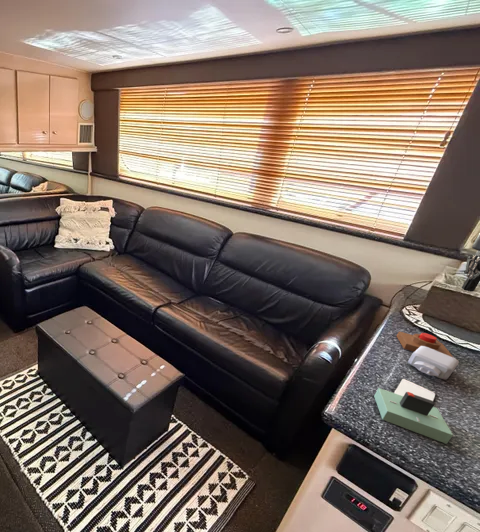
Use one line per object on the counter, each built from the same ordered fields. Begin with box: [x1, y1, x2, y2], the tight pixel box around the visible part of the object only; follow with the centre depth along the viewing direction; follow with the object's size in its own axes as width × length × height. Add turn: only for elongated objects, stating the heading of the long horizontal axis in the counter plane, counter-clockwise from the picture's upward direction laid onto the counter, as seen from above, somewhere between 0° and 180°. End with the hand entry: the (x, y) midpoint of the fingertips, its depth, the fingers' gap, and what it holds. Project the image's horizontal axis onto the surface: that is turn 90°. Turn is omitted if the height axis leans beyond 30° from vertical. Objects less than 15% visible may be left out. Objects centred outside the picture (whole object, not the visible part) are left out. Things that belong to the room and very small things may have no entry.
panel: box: [373, 387, 454, 445], centre depth 82 cm, size 12×10×3 cm
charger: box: [407, 346, 460, 380], centre depth 102 cm, size 5×9×15 cm
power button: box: [419, 332, 438, 343], centre depth 113 cm, size 4×4×2 cm
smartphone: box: [393, 378, 436, 402], centre depth 91 cm, size 7×1×15 cm
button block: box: [396, 330, 454, 358], centre depth 114 cm, size 12×10×4 cm
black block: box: [400, 392, 435, 416], centre depth 81 cm, size 5×2×4 cm, turn 58°
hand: (466, 290), depth 98 cm, fingers closed
